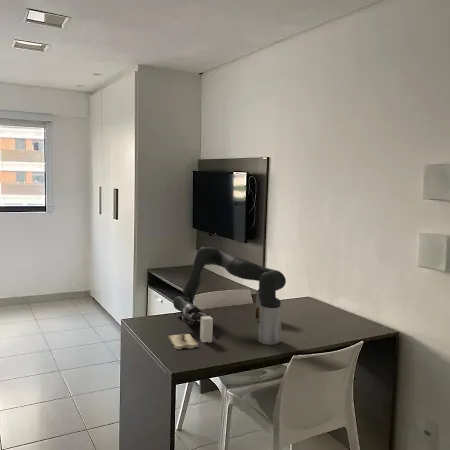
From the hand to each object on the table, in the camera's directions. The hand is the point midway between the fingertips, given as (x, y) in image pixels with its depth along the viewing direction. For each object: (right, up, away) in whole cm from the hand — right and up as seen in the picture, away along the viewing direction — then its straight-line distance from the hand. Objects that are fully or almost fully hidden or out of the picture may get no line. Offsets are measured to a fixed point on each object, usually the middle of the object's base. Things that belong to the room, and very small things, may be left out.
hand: (201, 322), depth 224 cm
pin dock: (-8, -7, -10) cm, 15 cm away
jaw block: (+2, -7, -7) cm, 10 cm away
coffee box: (+32, -5, +28) cm, 43 cm away
